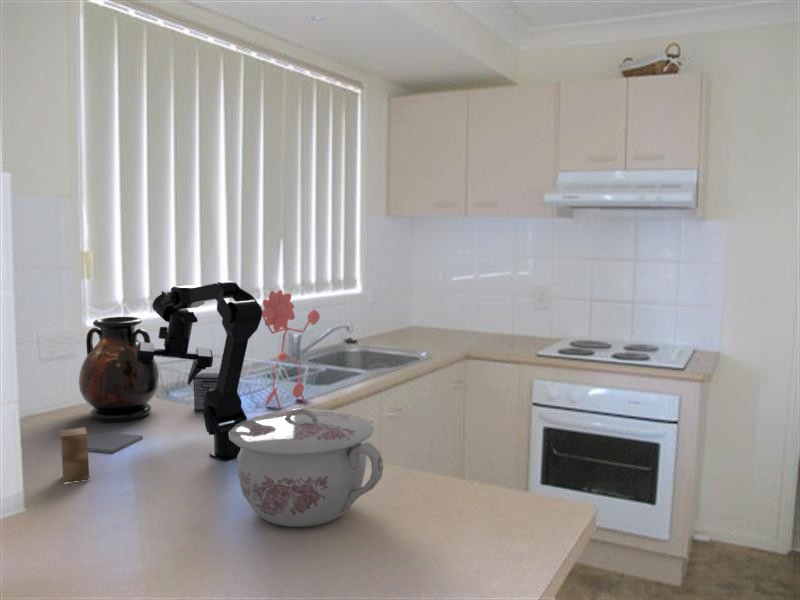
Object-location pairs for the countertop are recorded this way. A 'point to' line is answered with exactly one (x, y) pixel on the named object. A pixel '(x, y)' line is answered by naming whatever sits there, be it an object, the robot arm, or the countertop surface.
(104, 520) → the countertop surface
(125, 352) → the amphora vase
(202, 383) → the small box
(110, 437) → the plate
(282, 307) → the figurine
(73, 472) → the walnut block
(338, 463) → the chamber pot
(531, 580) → the countertop surface
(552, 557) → the countertop surface
